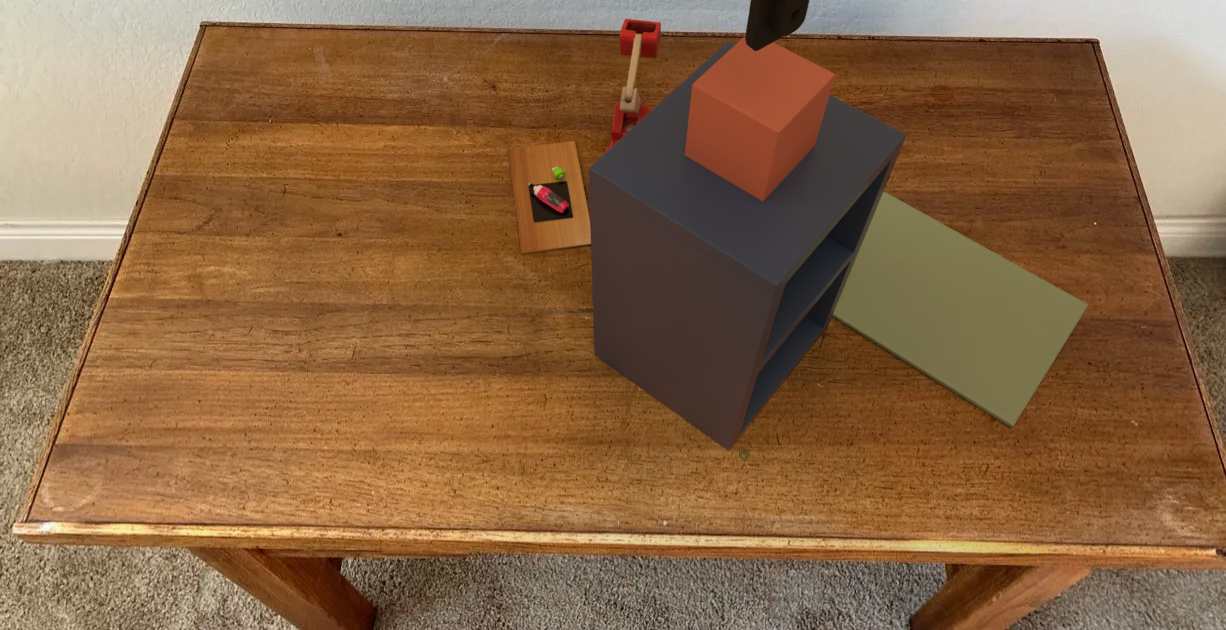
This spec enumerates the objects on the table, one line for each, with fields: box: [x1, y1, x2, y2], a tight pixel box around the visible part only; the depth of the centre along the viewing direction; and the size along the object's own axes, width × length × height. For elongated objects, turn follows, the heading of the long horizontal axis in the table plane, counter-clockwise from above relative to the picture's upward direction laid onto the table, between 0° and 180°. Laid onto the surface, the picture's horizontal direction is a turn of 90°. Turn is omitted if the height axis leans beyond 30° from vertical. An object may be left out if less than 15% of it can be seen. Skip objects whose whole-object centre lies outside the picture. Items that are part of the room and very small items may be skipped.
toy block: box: [685, 35, 836, 201], centre depth 48 cm, size 6×6×6 cm
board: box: [507, 140, 591, 255], centre depth 76 cm, size 6×12×2 cm, turn 9°
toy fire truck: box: [604, 18, 662, 154], centre depth 76 cm, size 3×14×10 cm, turn 171°
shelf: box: [588, 40, 907, 452], centre depth 60 cm, size 13×14×22 cm
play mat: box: [832, 190, 1089, 429], centre depth 71 cm, size 20×14×1 cm
